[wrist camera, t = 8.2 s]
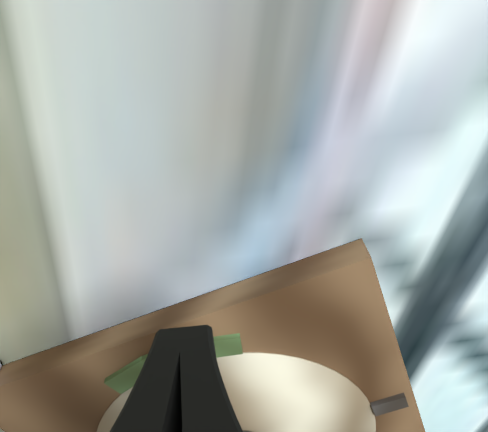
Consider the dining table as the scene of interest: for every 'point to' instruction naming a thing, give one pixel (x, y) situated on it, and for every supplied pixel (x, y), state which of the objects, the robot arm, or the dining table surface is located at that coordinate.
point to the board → (242, 356)
